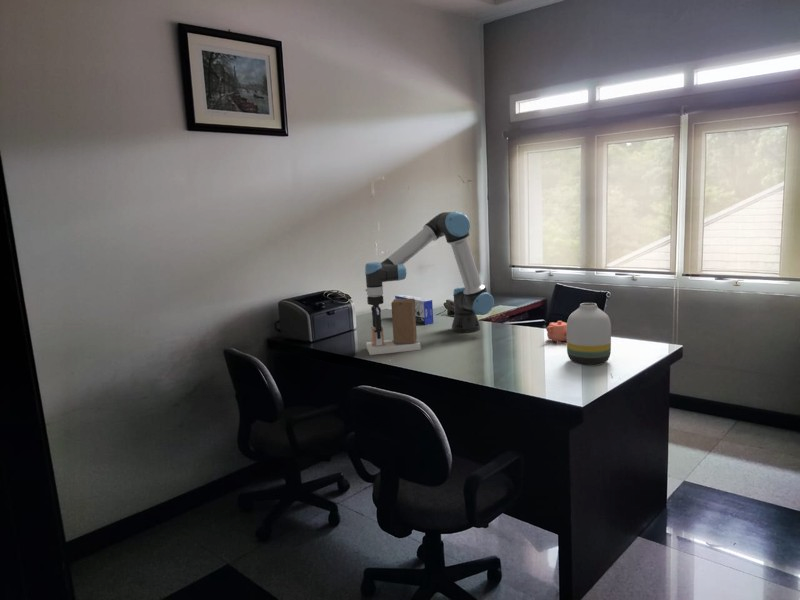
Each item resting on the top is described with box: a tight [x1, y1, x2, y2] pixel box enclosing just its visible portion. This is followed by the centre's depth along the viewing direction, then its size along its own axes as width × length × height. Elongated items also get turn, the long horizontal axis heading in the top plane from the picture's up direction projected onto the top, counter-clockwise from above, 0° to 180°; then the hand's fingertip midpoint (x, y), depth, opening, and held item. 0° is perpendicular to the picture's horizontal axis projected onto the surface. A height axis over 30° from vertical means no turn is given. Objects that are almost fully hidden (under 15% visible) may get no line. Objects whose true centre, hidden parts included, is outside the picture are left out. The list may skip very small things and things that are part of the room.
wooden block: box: [391, 298, 418, 344], centre depth 266 cm, size 10×10×20 cm
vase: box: [566, 302, 612, 366], centre depth 225 cm, size 17×17×24 cm
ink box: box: [394, 294, 434, 326], centre depth 329 cm, size 30×7×14 cm, turn 33°
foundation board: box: [365, 339, 421, 356], centre depth 266 cm, size 24×13×3 cm, turn 100°
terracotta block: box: [370, 325, 385, 346], centre depth 264 cm, size 5×5×8 cm
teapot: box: [545, 320, 567, 344], centre depth 262 cm, size 12×12×10 cm
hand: (378, 343), depth 265 cm, fingers open, 6 cm apart
